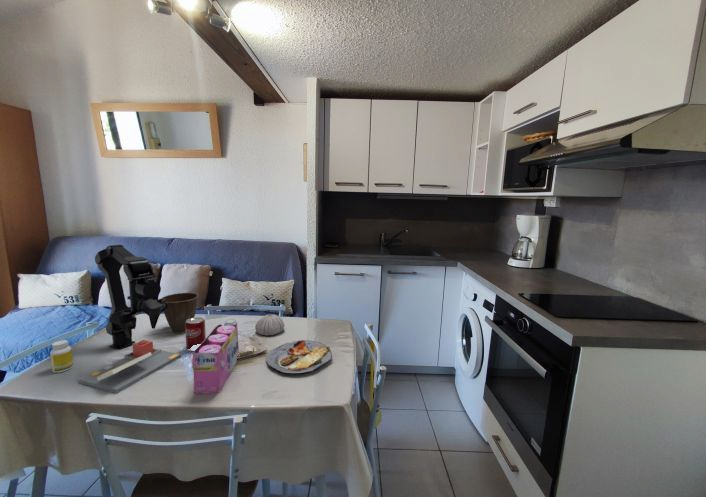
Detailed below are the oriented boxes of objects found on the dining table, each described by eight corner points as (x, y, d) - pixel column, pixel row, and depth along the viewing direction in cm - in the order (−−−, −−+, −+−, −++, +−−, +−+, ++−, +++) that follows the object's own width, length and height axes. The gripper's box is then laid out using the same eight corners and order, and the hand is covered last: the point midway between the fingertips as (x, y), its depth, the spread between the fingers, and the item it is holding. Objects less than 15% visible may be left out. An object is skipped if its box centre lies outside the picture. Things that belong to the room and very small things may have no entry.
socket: (124, 358, 112) (124, 355, 111) (145, 349, 119) (145, 346, 119) (141, 362, 109) (141, 359, 109) (161, 352, 117) (161, 349, 117)
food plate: (301, 339, 134) (301, 332, 134) (343, 356, 121) (343, 347, 120) (254, 363, 114) (254, 355, 114) (297, 386, 101) (297, 376, 100)
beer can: (227, 346, 126) (226, 319, 124) (239, 346, 127) (238, 318, 125) (223, 351, 121) (222, 323, 120) (235, 351, 122) (234, 323, 120)
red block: (133, 357, 113) (132, 343, 112) (144, 352, 117) (143, 338, 116) (142, 359, 112) (141, 345, 111) (153, 353, 116) (152, 340, 115)
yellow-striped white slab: (98, 380, 96) (96, 377, 96) (137, 361, 108) (135, 358, 108) (113, 374, 94) (111, 370, 94) (152, 354, 106) (150, 351, 106)
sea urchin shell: (260, 339, 133) (259, 322, 132) (251, 329, 144) (251, 313, 143) (288, 333, 141) (288, 317, 140) (278, 324, 152) (278, 308, 151)
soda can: (197, 353, 120) (196, 324, 118) (182, 351, 121) (180, 322, 120) (210, 345, 127) (208, 317, 125) (194, 343, 128) (193, 316, 127)
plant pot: (156, 331, 139) (154, 297, 137) (189, 321, 151) (187, 290, 149) (172, 339, 131) (170, 304, 129) (205, 329, 143) (204, 296, 141)
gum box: (219, 356, 118) (218, 323, 116) (240, 355, 119) (239, 323, 117) (193, 393, 94) (191, 352, 92) (219, 393, 95) (218, 352, 93)
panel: (78, 382, 98) (77, 373, 98) (147, 350, 121) (146, 342, 121) (117, 393, 93) (116, 382, 93) (181, 357, 116) (180, 348, 116)
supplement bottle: (77, 366, 108) (74, 340, 106) (58, 374, 103) (55, 347, 101) (67, 363, 109) (64, 338, 108) (48, 371, 104) (45, 344, 103)
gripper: (130, 302, 100) (134, 347, 102) (177, 288, 118) (179, 326, 120) (106, 299, 103) (110, 342, 105) (155, 286, 121) (158, 323, 123)
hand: (142, 333), depth 113 cm, fingers open, 9 cm apart
